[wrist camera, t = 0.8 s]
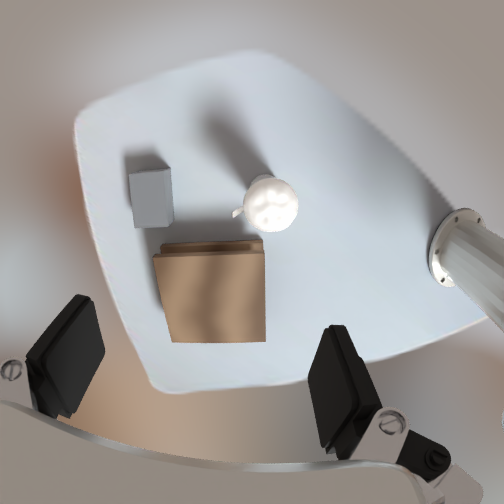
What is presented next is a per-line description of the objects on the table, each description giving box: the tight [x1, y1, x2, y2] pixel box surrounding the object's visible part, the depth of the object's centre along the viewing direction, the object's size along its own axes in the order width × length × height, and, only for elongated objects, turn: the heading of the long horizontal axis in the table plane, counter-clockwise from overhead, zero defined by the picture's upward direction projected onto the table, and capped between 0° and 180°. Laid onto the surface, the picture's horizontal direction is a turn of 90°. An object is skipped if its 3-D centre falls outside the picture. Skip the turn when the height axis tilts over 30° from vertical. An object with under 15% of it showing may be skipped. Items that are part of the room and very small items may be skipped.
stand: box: [153, 240, 266, 343], centre depth 33 cm, size 12×12×4 cm
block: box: [129, 168, 174, 228], centre depth 29 cm, size 4×6×3 cm, turn 0°
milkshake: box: [232, 174, 298, 232], centre depth 25 cm, size 4×5×10 cm
